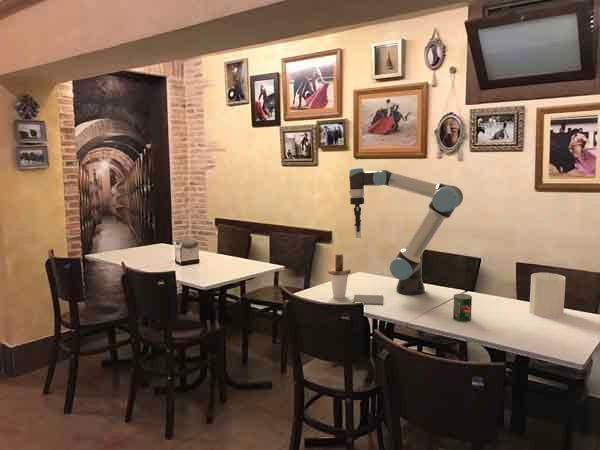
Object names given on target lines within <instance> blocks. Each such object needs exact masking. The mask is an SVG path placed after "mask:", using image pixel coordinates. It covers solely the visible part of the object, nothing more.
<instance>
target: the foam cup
mask: <svg viewBox="0 0 600 450" xmlns="http://www.w3.org/2000/svg"><path fill="white" fill-rule="evenodd" d="M329 276H330V281H331V286H332V287H331V288H332V295H333V298H336V299H343V298H346V296H347V295H346V292H347V287H348V286H347V285H348V278H349V274H348V275H331V274H329Z"/></svg>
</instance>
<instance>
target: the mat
mask: <svg viewBox="0 0 600 450" xmlns="http://www.w3.org/2000/svg"><path fill="white" fill-rule="evenodd" d="M352 300H353V301H352V304H353V303H355V302H363V303H364V304H363V305H374V306H376V305H377V306H378V305H379V306H383V305H384V304H383V303H384V302H383V301H384V296H383V295H379V294H378V295H377V294H375V295H374V294H354V295H353V299H352Z"/></svg>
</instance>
